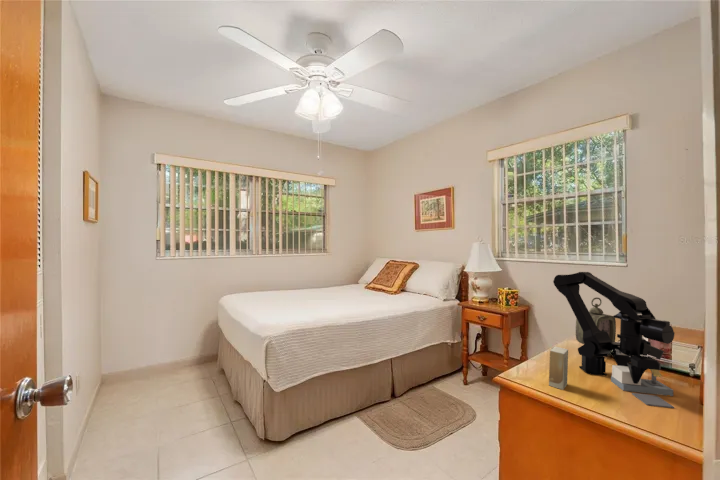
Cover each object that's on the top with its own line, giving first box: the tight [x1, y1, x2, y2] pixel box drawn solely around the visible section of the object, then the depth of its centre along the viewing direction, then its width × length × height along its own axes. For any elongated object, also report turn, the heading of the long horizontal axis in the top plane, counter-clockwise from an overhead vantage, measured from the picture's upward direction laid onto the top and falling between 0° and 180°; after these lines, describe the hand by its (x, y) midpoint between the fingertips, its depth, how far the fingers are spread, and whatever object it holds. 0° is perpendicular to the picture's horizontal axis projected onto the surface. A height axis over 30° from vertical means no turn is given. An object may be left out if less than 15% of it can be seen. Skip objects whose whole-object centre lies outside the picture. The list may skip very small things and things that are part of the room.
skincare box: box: [548, 346, 569, 390], centre depth 105 cm, size 6×4×12 cm
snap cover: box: [611, 364, 642, 385], centre depth 105 cm, size 6×6×4 cm
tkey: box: [649, 369, 662, 384], centre depth 103 cm, size 8×2×5 cm, turn 144°
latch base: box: [610, 375, 674, 397], centre depth 105 cm, size 14×7×2 cm, turn 78°
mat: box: [631, 392, 675, 409], centre depth 96 cm, size 7×7×1 cm
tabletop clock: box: [575, 297, 617, 345], centre depth 138 cm, size 14×9×25 cm, turn 114°
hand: (629, 379), depth 105 cm, fingers closed on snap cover, 5 cm apart
